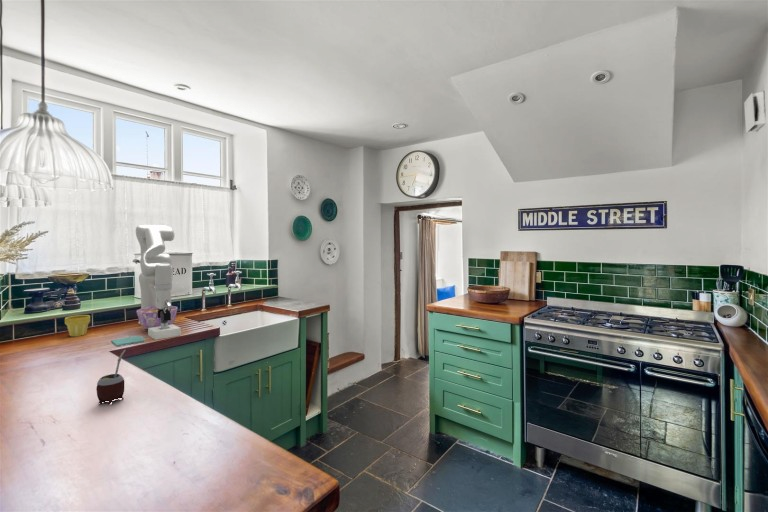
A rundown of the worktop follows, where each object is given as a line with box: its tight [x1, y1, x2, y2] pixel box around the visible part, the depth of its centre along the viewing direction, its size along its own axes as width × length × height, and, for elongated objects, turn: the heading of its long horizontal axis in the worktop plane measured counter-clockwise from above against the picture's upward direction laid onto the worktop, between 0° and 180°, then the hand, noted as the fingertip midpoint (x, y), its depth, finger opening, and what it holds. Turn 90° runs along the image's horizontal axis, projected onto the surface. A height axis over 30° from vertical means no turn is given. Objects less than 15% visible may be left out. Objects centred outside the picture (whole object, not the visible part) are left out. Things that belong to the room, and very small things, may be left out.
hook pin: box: [161, 311, 168, 330], centre depth 192 cm, size 3×3×13 cm
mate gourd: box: [95, 349, 127, 404], centre depth 114 cm, size 8×8×15 cm
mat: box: [110, 335, 147, 347], centre depth 180 cm, size 12×12×1 cm
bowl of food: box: [136, 305, 178, 330], centre depth 205 cm, size 20×20×12 cm
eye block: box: [147, 323, 182, 341], centre depth 192 cm, size 12×12×4 cm
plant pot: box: [64, 314, 91, 337], centre depth 192 cm, size 10×10×10 cm
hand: (164, 319), depth 192 cm, fingers open, 9 cm apart
